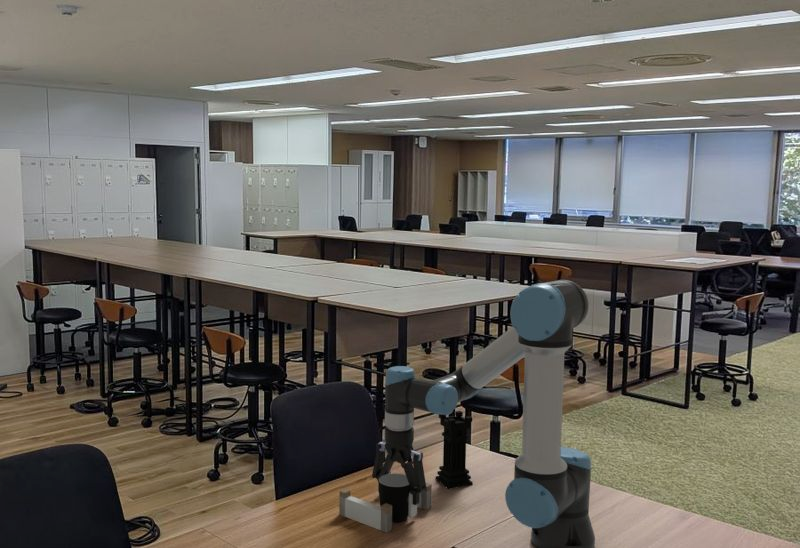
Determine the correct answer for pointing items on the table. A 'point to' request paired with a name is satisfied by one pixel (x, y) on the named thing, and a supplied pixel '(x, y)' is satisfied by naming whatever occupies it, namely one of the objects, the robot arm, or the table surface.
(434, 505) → the table surface
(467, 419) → the chess piece
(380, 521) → the chute
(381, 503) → the mug
